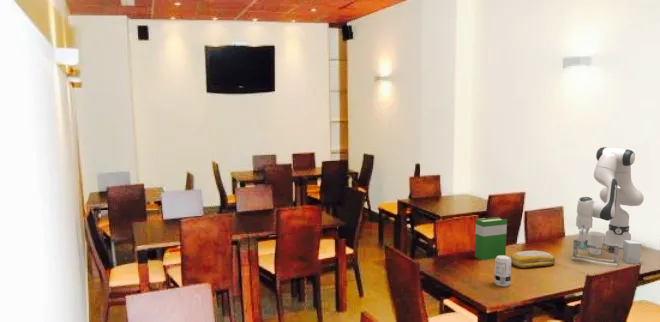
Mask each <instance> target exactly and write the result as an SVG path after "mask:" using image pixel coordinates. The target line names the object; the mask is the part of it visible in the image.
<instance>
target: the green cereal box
mask: <svg viewBox="0 0 660 322" xmlns="http://www.w3.org/2000/svg"><path fill="white" fill-rule="evenodd" d="M507 227H508V219H506V218H505V219H502V218H501V216H497V217H488V218H487V217H486V218H485V217H484V218H479V219H475V233H474V234H475V236H474V237H475V240H474V257H475V258H476V259H479V260H481V261H487V260H493V259H494V260H495V259H496V257H497V256H498V255H505V256H507V255H506V253H507V252H506V251H507V249H506V248H507V232H508V231H507V230H508V229H507Z"/></svg>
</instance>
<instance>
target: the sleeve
mask: <svg viewBox="0 0 660 322" xmlns="http://www.w3.org/2000/svg"><path fill="white" fill-rule="evenodd" d="M577 240H578V246H577V251H579V250H580V251H588V248H587V245H589V242H588V239H586V241H585V242H584V247H583V248H582V247H580V246H581V244H580V242H579V239H577Z"/></svg>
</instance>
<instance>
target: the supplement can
mask: <svg viewBox="0 0 660 322" xmlns="http://www.w3.org/2000/svg"><path fill="white" fill-rule="evenodd" d="M493 275H494V278H493V282H494V284H495V285H496V286H497V287H503V288H504V287H505V288H507V287H509V286H510V285H511V278H512V277H511V276H512V262H511V256H508V255H498V256H497V257H496V258H495V259H494V274H493Z"/></svg>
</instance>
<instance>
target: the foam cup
mask: <svg viewBox="0 0 660 322" xmlns="http://www.w3.org/2000/svg"><path fill="white" fill-rule="evenodd" d="M605 236H606V235H605V233H603V232H599V231H593V230H592V231H588V235H587V240H588V245H592V246H599V247H603V245H604V244H603V240H605ZM588 250H589V254H591V255H597V256H599V255H601V254H602V250H601V249H594V248H588Z"/></svg>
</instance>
